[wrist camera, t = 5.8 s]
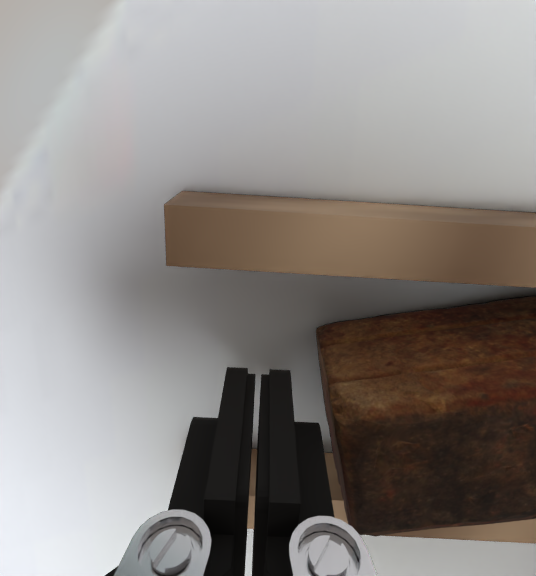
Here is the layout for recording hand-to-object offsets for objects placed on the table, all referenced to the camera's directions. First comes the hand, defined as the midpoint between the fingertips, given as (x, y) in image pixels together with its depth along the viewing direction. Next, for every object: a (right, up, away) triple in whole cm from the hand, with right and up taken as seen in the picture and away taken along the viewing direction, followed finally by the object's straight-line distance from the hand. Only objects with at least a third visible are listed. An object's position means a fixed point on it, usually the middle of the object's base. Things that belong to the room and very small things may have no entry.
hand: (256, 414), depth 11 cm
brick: (+7, +1, +3) cm, 8 cm away
